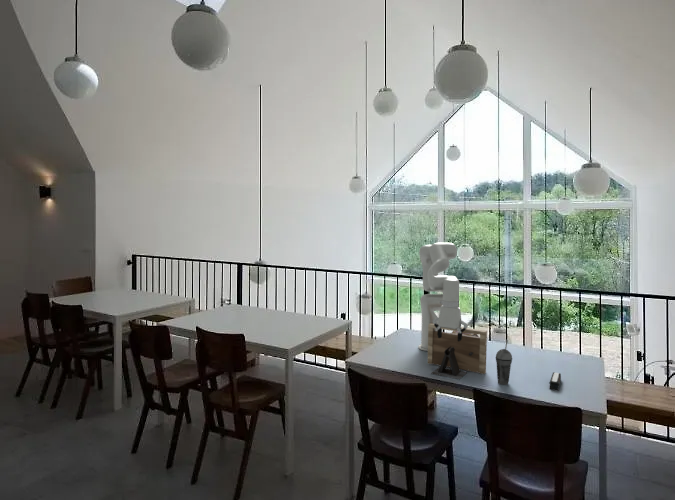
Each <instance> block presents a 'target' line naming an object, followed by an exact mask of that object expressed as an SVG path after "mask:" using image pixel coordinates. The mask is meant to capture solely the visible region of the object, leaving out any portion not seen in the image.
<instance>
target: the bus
mask: <svg viewBox="0 0 675 500" xmlns="http://www.w3.org/2000/svg"><path fill="white" fill-rule="evenodd" d="M561 375H562V374H561V373H560V372H552V373H551V378H550V381H549V382H548V384H549V390H551V391H552V390H553V391H559V389H560V384H561V381H562V376H561Z"/></svg>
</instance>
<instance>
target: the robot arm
mask: <svg viewBox="0 0 675 500" xmlns="http://www.w3.org/2000/svg"><path fill="white" fill-rule="evenodd" d="M418 254H419V255H418V256H419V259H420V262H421V266H422V285H423V286H422V288H423V290H424V291H425V292H433V293H427V294H423V295H422V296H421V297H420V301H419V302H420V303H419V304H420V310H421V337H420V338H421V339H420V341H421V342H420V344H419V345H418V346H417V347H418V349H419V350H421V351H424V352H428V324H430V323H434V326H435V327H436V328H435V331H437V336H438V338H441V337H442V332H443V329H441V328H442V327H443V328H449V329H457V331H458V332H459V333H458V342H459V341H461V340H462V332H464V331H465V330H466V328H467V327H468V326H469V324H468V323H466V322H465V321H463V320H462V312H461V308H460V305H459V304H460V303H459V301H460V280H459V279H458V278H457V277H456V276H455V275H446V274H440V273H442V272H445V271H446V270H447V269H448V268H449V267H450V264H451V262H450V260H453V259H456V257H457V255H458V249H457V247H456V245H455V244H454V243H452V242H435V243H432V244H424V245H421V246H420V248H419V251H418ZM435 292H439V294H438V293H435ZM440 292H442V293H440ZM438 311H439V314H438V315H437V314H436V312H438ZM462 326H463V327H464V328H463V329H462V328H461V327H462ZM468 328H469V327H468Z"/></svg>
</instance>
